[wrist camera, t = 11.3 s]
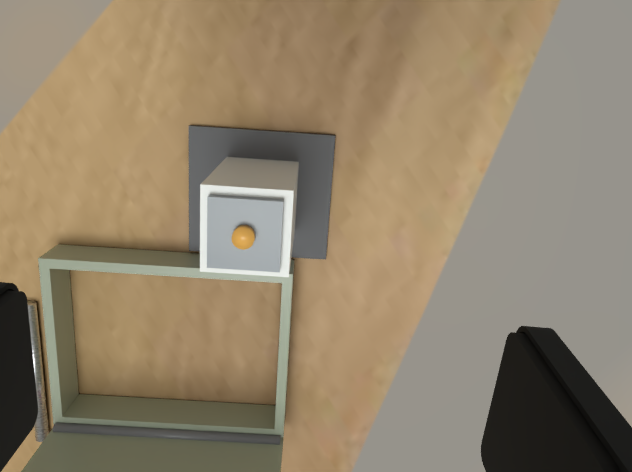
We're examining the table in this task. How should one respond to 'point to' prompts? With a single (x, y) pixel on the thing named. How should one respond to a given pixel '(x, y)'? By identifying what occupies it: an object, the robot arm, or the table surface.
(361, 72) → the table surface
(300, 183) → the mat
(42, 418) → the rod
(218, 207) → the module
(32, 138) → the table surface
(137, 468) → the case
